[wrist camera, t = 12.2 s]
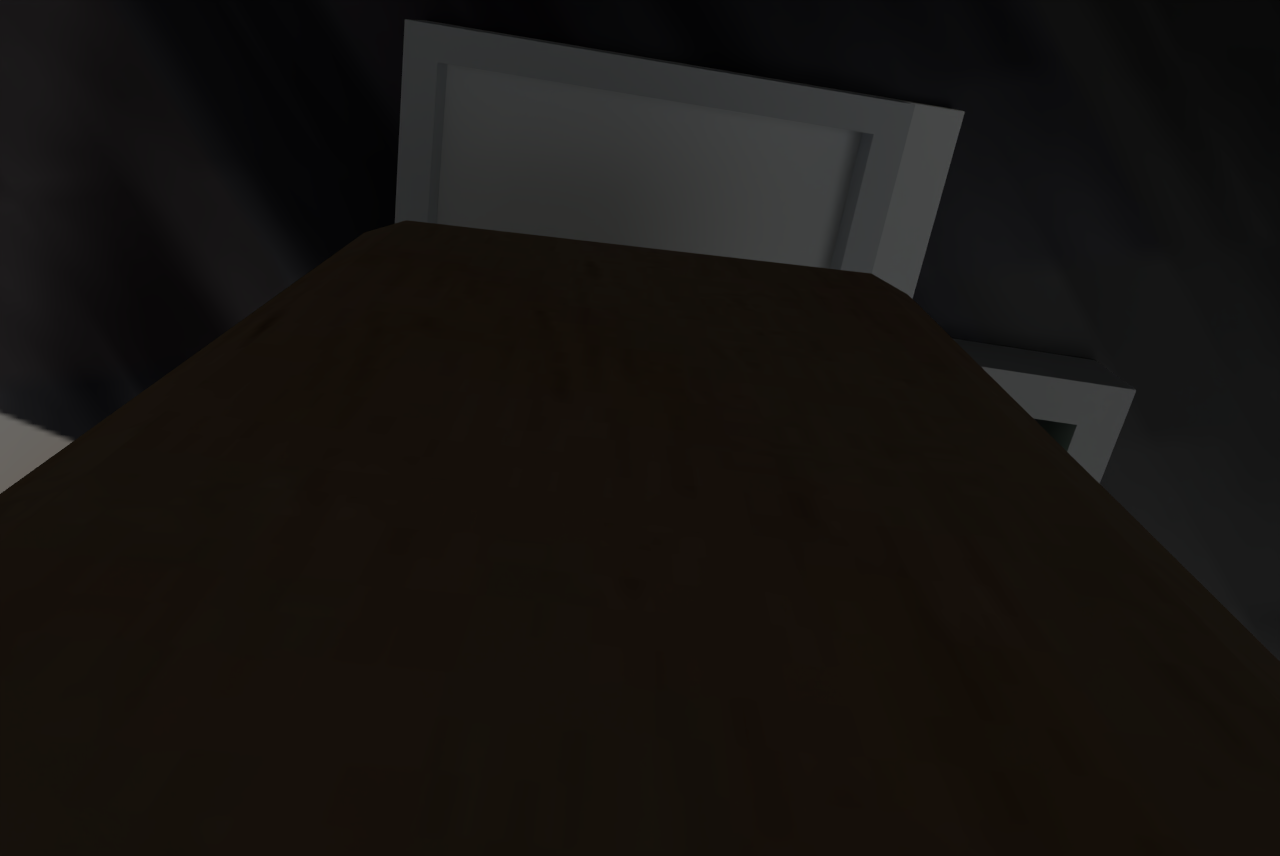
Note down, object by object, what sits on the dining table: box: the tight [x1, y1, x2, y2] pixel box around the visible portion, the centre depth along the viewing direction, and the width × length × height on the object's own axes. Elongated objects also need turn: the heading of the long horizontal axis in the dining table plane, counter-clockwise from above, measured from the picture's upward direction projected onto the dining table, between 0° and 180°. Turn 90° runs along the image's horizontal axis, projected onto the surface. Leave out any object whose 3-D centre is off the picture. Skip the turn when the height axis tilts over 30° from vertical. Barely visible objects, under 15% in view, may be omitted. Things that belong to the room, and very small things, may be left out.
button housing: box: [952, 338, 1136, 484], centre depth 33 cm, size 8×8×3 cm
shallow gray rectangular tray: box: [395, 19, 965, 299], centre depth 31 cm, size 15×17×3 cm
